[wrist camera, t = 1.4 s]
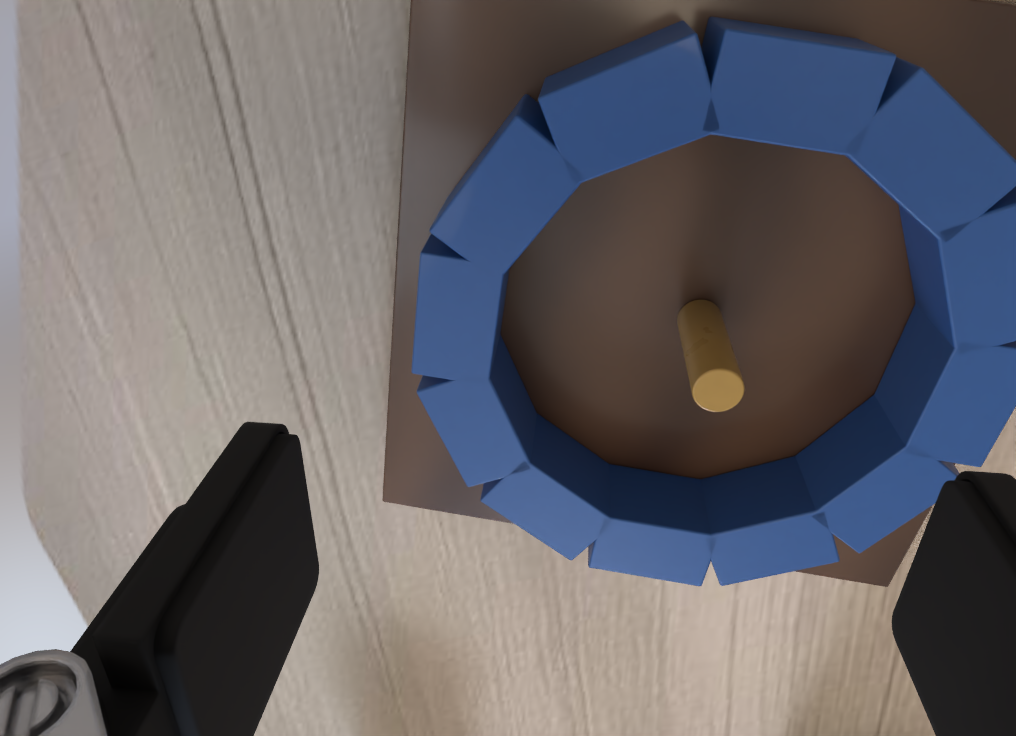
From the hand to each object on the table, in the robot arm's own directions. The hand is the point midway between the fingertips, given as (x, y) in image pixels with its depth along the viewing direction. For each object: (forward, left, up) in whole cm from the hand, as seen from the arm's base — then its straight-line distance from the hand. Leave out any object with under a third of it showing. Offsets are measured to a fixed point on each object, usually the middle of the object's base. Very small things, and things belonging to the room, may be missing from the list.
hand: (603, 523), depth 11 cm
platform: (+4, -3, -16) cm, 16 cm away
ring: (+4, -3, -12) cm, 13 cm away
